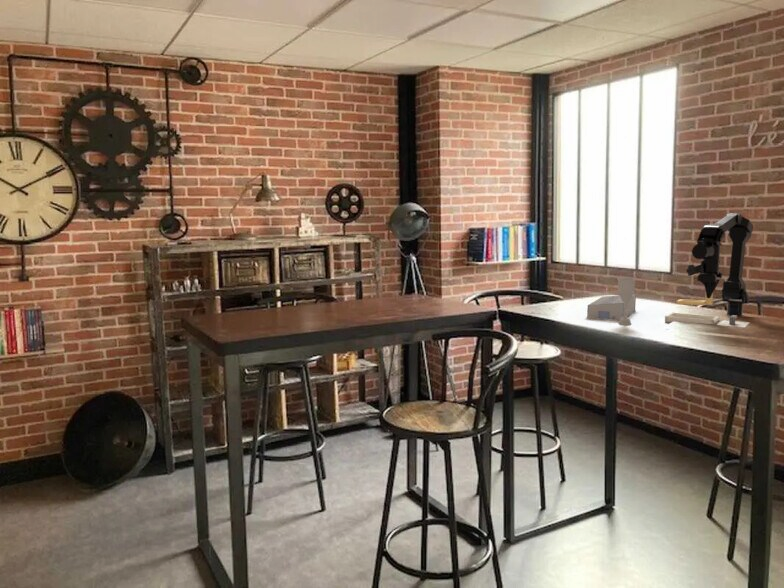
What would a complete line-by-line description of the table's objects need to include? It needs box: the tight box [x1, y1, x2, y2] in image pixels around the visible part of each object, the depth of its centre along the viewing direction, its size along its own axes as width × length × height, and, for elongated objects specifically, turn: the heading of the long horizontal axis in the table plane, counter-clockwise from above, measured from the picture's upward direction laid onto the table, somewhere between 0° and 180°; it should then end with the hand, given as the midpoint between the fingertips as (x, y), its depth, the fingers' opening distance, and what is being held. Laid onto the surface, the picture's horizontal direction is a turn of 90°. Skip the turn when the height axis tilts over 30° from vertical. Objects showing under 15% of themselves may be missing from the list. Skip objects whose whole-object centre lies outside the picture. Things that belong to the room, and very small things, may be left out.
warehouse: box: [586, 293, 637, 321], centre depth 282 cm, size 30×14×8 cm, turn 151°
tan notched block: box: [676, 292, 714, 306], centre depth 258 cm, size 6×12×5 cm, turn 56°
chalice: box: [616, 277, 637, 326], centre depth 257 cm, size 7×7×18 cm
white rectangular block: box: [716, 315, 751, 328], centre depth 251 cm, size 13×10×4 cm
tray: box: [664, 312, 720, 325], centre depth 260 cm, size 11×18×2 cm, turn 53°
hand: (708, 297), depth 255 cm, fingers closed on tan notched block
